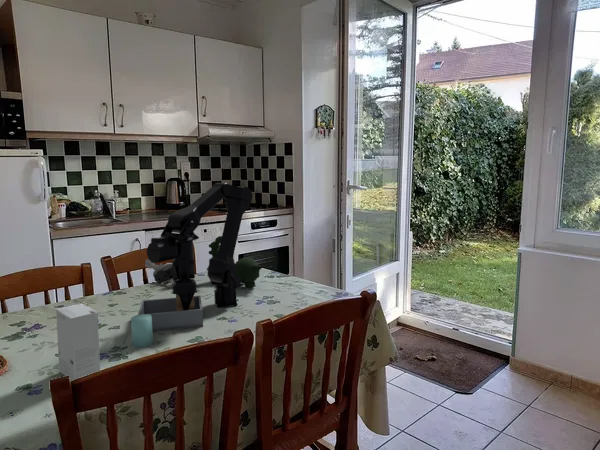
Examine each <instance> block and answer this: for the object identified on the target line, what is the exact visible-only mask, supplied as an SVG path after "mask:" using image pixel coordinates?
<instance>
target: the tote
mask: <svg viewBox="0 0 600 450" xmlns="http://www.w3.org/2000/svg"><path fill="white" fill-rule="evenodd" d="M201 298H202V297H201V295H194V310H184V311H177V310H176V297H167V298H166V297H165V298H155V299H143V300H141V302H140V304H139V305H140V306H139V310H138V313H137V315H140V314H149V315H151V316H152V331H153V332H162V331H163V332H164V331H171V330H180V329H181V330H182V329H191V328H201V327H204V311H203V304H202V299H201Z"/></svg>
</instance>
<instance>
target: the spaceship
mask: <svg viewBox="0 0 600 450" xmlns="http://www.w3.org/2000/svg"><path fill="white" fill-rule="evenodd" d="M145 260H146V261H145V266H144V267H146V268H148V269H153V270H154V271H156V270H158V269H161V268H163V267H165V266H168V265H171V264H172V262H167V263H165V264H164V263H162V262H160V264H156V263H152V262H151V261H150V260H149V259H145ZM192 279H194V278H192ZM174 281H176V280H173V278H171V279H169V280H167V281H164V282H162V283H161V284H168V283H167V282H169V283H171V286H172V287H173V284H174ZM197 285H198V284H197V283H196V286H197Z"/></svg>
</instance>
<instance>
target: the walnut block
mask: <svg viewBox="0 0 600 450" xmlns="http://www.w3.org/2000/svg"><path fill="white" fill-rule="evenodd" d="M194 296H195V295H194ZM194 296H193V299H192V301H191V304H190V307H189V309H188V310H194ZM175 298H176V310H177V311H184V310H183V306H182V303H181V299H180V296H179V295H178V294H175Z"/></svg>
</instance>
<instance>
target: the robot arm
mask: <svg viewBox="0 0 600 450" xmlns="http://www.w3.org/2000/svg"><path fill="white" fill-rule="evenodd" d="M223 199H224V200H225V201H224V203H225V206H226V209H227V213H226V216H225V222H224V226H223V230H222V235H221V236H222V238H221V243H220V244H219V245H220V247H219V251H218V254H217V256H216V257H215V258H212V257H210V258H209V259H210V260H209V259H208V266H207V268H206V271H207V277H208V279H209V281H210V284H211V286H215V289H214V291H213V293H214V304H215V305H216V307H217V308H225V307H228V308H229V307H236V306H238V302H237V289H238V288H239V287H241V284H242V283H241V279H240V278H239V277H238V276H237V275H236V274H235V268H236V266H235V263H236V262H235V260H234V253H235V250H236V246H237V240H238V236H239V232H240V228H241V224H242V223H241V222H242V220H243V216H244V213H246V211H248V209H249V208H250V205H251V202H252V200H253V193H252V190H251V189H250V188H249V186H238V185H237V186H236V185H232V184H229V183H227V182H215V183H214V184H212V186H211V187H210V188H209V189H208V190H206V192H204V193H203V194H202V195H201V196H199V197H198V198H197V199H196V200H195V201H194V202H192V203H191V204H190V205H188V206H186V207H184V208H180V209H178V210H176V211H174V212H173V213H171V214H170V215H169V216H168V218H167V220H168V221H167V223H166V224H165V226H164V228H163V231H162V232H161V234H160V236H159V237H151V239H150V243H148V245H147V249H146V255H147V258H148V260H150V261H151V262H152V263H154V264H159V263H162V262H167V261H170V260H172V262H171V263H172V264H171V265H168V266H165V267H163V268H161V269H158V270H156V271H155V270H154V271H153V274H152V276H153V278H154V281H155V282H156V284H157V285H161V284H163V283H162V282H164V281H167V280H169V279H171V278H173V280H176V281H174V283H173V286H172V292H173V295H176V294H178V295H179V296H180V299H181V303H182V306H183V310H188V309H189V307H190V304H191V301H192V299H193V296H195V293H197V291H198V290H197V285H196V284H197V282H196V280H195V277H196V275H195V272H196V271H195V261H194V260H195V258H194V257H195V256H194V241H195V240H199V239H200V237H199V235H197V234H195V231H196V229H197V228H198V227H199V225H200V224H201V220H202V218H203V217H204V216H205V215H206V214H207V213H209V211H210V210H212V209H213V208H214V207H215V206H216V205H217V204H219V202H221V201H222V200H223ZM192 278H193V279H192Z"/></svg>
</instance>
